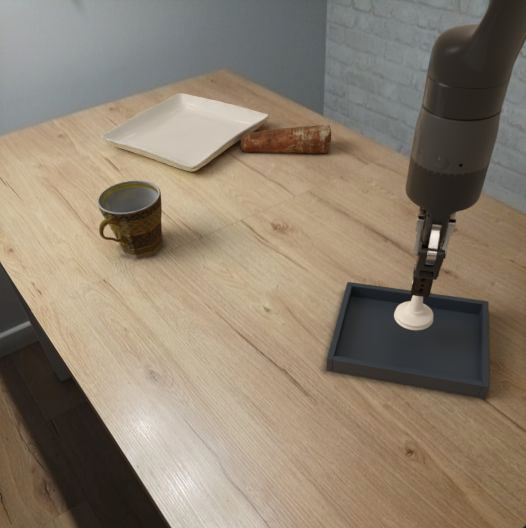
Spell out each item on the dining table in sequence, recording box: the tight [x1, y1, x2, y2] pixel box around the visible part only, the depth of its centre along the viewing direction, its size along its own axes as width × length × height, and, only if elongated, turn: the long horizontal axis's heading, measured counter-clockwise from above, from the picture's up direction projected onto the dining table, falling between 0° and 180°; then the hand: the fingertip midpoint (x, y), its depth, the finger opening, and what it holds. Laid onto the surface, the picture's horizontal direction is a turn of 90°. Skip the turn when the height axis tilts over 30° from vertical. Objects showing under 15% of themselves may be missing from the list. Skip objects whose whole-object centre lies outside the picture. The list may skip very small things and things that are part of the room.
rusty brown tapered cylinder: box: [240, 124, 332, 155], centre depth 108 cm, size 6×19×6 cm, turn 82°
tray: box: [325, 281, 490, 400], centre depth 69 cm, size 20×16×3 cm
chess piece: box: [394, 280, 433, 330], centre depth 63 cm, size 5×5×10 cm
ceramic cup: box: [96, 179, 163, 260], centre depth 84 cm, size 13×10×10 cm
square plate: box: [99, 92, 270, 172], centre depth 114 cm, size 27×27×4 cm
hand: (420, 286), depth 63 cm, fingers closed on chess piece
